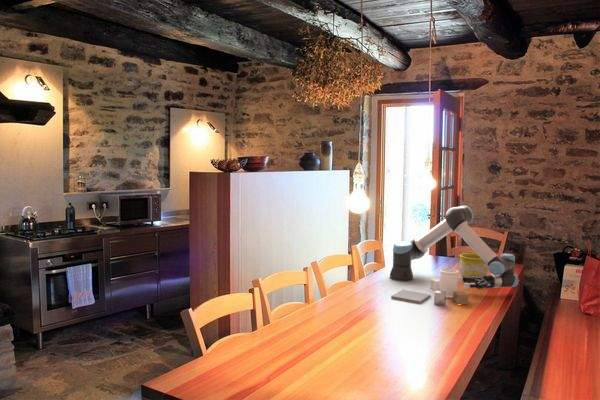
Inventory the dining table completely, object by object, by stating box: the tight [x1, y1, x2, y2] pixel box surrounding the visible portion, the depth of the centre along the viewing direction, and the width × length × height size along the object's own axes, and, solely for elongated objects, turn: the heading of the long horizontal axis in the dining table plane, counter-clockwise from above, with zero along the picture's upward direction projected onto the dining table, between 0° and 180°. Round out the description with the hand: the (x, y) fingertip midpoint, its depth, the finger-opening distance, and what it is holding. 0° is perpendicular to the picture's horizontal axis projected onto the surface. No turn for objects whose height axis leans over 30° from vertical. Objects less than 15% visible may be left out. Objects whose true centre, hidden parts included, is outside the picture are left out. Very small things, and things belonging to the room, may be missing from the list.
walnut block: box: [452, 290, 470, 305], centre depth 276 cm, size 6×6×6 cm
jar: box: [438, 268, 460, 299], centre depth 289 cm, size 11×10×15 cm
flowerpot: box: [459, 252, 490, 283], centre depth 324 cm, size 18×18×16 cm
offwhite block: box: [429, 278, 440, 292], centre depth 303 cm, size 6×6×6 cm
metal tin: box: [433, 290, 447, 307], centre depth 273 cm, size 6×6×7 cm
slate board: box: [390, 289, 432, 305], centre depth 285 cm, size 16×17×2 cm
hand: (457, 282), depth 289 cm, fingers open, 13 cm apart
